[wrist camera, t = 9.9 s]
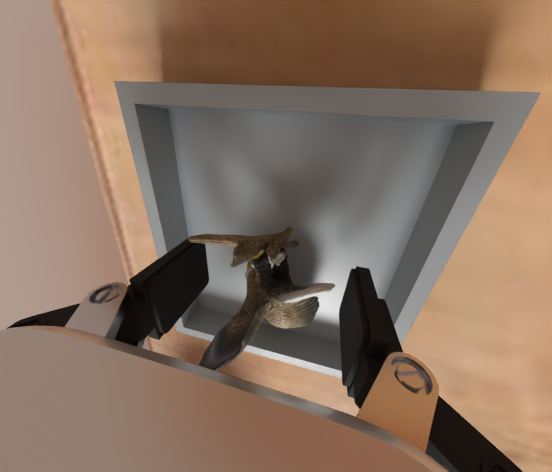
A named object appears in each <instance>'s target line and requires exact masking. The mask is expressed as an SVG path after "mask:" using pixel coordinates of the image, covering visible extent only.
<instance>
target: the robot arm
mask: <svg viewBox="0 0 552 472" xmlns="http://www.w3.org/2000/svg"><path fill="white" fill-rule="evenodd" d="M130 283H131V284H130V285H129V286H128V287H127V286H126V284H124V283H119V282H116V283H109V284H105V285H102V286H100V287H98V288H96V289H94V290H92V291H91V292H90V293H89V294H88V295H87V296H86V297H85V298H84V300H83V301H82V302H81V303H80V304H76V305H72V306H68V307H65V308H61V309H58V310H53V311H50V312H47V313H42V314H38V315H35V316H31V317H28V318H25V319H22V320H20V321H18V322H16V323H14V324H13V325H11V326H10V327H8V328H7V329H3V330H0V472H522V471H521V469H519V468H518V467H517V466H516V465H515V464H514V463H513V462H512V461H511V460H509V459H508V458H507V457H506V456H505V455H504V454H503V453H502V452H501V451H500V450H498V449H497V448H496V447H495V446H494V445H493V444H492V443H491V442H490V441H488V440H487V439H486V438H485V437H484V436H483V435H482V434H481V433H480V432H478V431H477V430H476V429H475V428H474V427H473V426H472V425H471V424H470V423H469V422H467V421H466V420H465V419H464V418H463V417H462V416H461V415H460V414H459V413H457V412H456V411H455V410H454V409H453V408H452V407H451V406H450V405H449V404H447V403H446V402H445V401H444V400H443V399H442V398H441V397H440V396H439V386H438V384H437V381H436V379H435V377H434V375H433V374H432V372H431V371H430V370H429V369H428V368H427V367H426V366H425V365H424V364H423V363H422V362H421V361H419V360H418V359H417V358H415V357H413V356H411V355H409V354H406V353H403V350H402V347H401V345H400V342H399V339H398V336H397V333H396V330H395V327H394V324H393V321H392V318H391V315H390V312H389V309H388V306H387V303H386V301H385V300H384V299H380V298H378V296H377V293H376V289H375V286H374V283H373V279H372V276H371V273H370V270H369V268H364V267H358V266H356V268H355V269H353V268H352V269H351V271H350V274H349V278H348V281H347V285H346V288H345V292H344V295H343V298H342V302H341V305H340V309H339V326H340V345H341V365H342V383H343V385H344V386H347V392H348V396H349V397H352V398H354V399H355V403H356V405H357V406H358V407H359V409H360V410H359V412H358V414H357V416H356V417H354V416H352V415H349V414H346V413H343V412H340V411H337V410H335V409H332V408H329V407H326V406H323V405H320V404H317V403H314V402H311V401H308V400H305V399H302V398H299V397H296V396H293V395H289V394H286V393H283V392H280V391H277V390H274V389H271V388H268V387H264V386H261V385H258V384H255V383H252V382H249V381H246V380H242V379H239V378H236V377H233V376H230V375H227V374H223V373H220V372H217V371H214V370H211V369H207V368H204V367H201V366H198V365H195V364H191V363H188V362H185V361H182V360H179V359H175V358H172V357H169V356H166V355H163V354H159V353H156V352H153V351H149V350H146V349H143V344H144V340H145V338H146V337H147V336H148V335H149V337H151V338H155V339H158V340H159V339H160V338H161V337H162V336H163V334H164V333H167V332H169V331H170V329H171V328H172V327H173V326H174V325H175V323H176V322H177V321H178V320H179V318H180V317H181V316H182V315H183V314H184V312H185V311H186V310H187V309H188V308H189V306H190V305H191V304H192V303H193V302H194V300H195V299H196V298H197V297H198V296H199V294H200V293H201V292H202V291H203V290H204V288H205V287H206V286H207V285H208V283H209V272H208V263H207V255H206V246H205V244H203V243H193V242H190V241H189V239H188V238H187V239H186V240H184V241H183V242H182V243H180V244H179V245H177V246H176V247H175V248H173V249H172V250H170V251H169V252H168V253H166V254H165V255H163V256H162V257H161V258H159V259H158V260H156V261H155V262H153V263H152V264H151V265H149V266H148V267H146V268H145V269H144V270H142V271H141V272H139V273H138V274H137V275H135V276H134V277H132V278H131V279H130Z"/></svg>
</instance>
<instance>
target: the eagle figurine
mask: <svg viewBox="0 0 552 472" xmlns="http://www.w3.org/2000/svg"><path fill="white" fill-rule="evenodd" d="M292 231H293V229H292V228H290V227H289V228H287V229H285V230H284V231H283V232H280V233H276V234H269V235H261V236H244V235H220V234H202V235H196V236H190V237H188V239H189V241H190V242H193V243H203V244H209V245H219V246H234V247H235V248H234V251H233V261H232V263H231V268H234V267H236V266H238V265H241V264H243V263H245V262H248V261H249V260H252V264H253V265H254V267H255V268H253V267H251V266H250V264H249V263H247V270H246V273H245V278H246V281H247V295H246V298H245V301H244V303H243V305H242V307H241V309H240V310H239V311H238V312H237V313H236V314H235V315H234V316H233V317H232V318H231V319H230V321H229V322H228V324H227V325H225V326H224V327H222V328H221V329H220V330H219V331H218V332H217V334H216V335H215V337H214V339H213V341H212V342H211V344H210V345H209V347H208V348H207V350H206V351H205V353H204V354H203V358H202V360H201V362H200V364H199V366H201V367H204V368H207V369H211V370H214V371H218V370H219V369H221V368H223V367H224V366H226V365H227V364H229V363H230V362H232V361H233V360H234V359H235V358H236V357H237V356H238V355H239V354H240V353H241V352H242V351H243V350H244V348H245V347H246V346H247V344H248V342H249V341H250V340H251V339H252V337H253V335H254V334H255V332H256V331H257V329H258V327H259V326H260V324H261V322H262V320H263V319H266V320H267V322H268V323H271V324H272V325H273V326H275V327H280V328H285V329H286V328H298V327H304V326H308V325H310V324H311V323H312V321H313V320H314V317H315V315H316V312H317V311H318V308H319V306H320V305H319V301H318V297H316V296H317V295H320V294H323V293H327V292H329V291H331V290H332V288H334V287H335V284H333V283H315V284H311V285H308V286H305V287H304V286H299V285H293V283H292V281H291V277H290V275H289V265H288V261H287V257H288V256H287V255H286V249H285V248H291V249H293V248H296V247H298V246H300V245H301V243H300V242H299V241H298V240H292V241H290V242H289V241H287V240H288V238H289V235H290V234H291V233H292ZM268 256H269V257H270V260H271V262H272V263H273V267H272V268H271V264H270V263H269V259H268Z"/></svg>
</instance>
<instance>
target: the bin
mask: <svg viewBox="0 0 552 472" xmlns="http://www.w3.org/2000/svg"><path fill="white" fill-rule="evenodd" d="M114 82H115V86H116V90H117V94H118V98H119V102H120V106H121V110H122V114H123V119H124V123H125V127H126V131H127V135H128V139H129V143H130V147H131V151H132V155H133V159H134V163H135V167H136V171H137V175H138V179H139V183H140V187H141V191H142V195H143V199H144V203H145V207H146V211H147V215H148V219H149V223H150V227H151V231H152V235H153V239H154V243H155V247H156V251H157V256H158V259H159V258H161V257H162V256H163V255H165V254H166V253H168V252H169V251H170V250H172V249H173V248H175V247H176V246H177V245H179V244H180V243H182V242H183V241H184V240H186V239H187V238H188V237H190V236H196V235H202V234H220V235H244V236H261V235H269V234H276V233H280V232H283V231H284V230H285V229H287V228H289V227H290V228H292V229H293V231H292V233H291V234H290V235H289V238H288V240H287V241H289V242H290V241H292V240H298V241H299V242H300V243H301V245H300V246H298V247H296V248H293V249H291V248H285V249H286V255H287V256H288V257H287V261H288V265H289V275H290V277H291V281H292V283H293V285H299V286H304V287H305V286H308V285H311V284H315V283H333V284H335V287H334V288H332V290H331V291H329V292H327V293H323V294H320V295H317V296H316V297H318V301H319V305H320V306H319V308H318V311H317V312H316V315H315V317H314V320H313V321H312V323H311V324H310V325H308V326H304V327H298V328H286V329H285V328H280V327H275V326H273V325H272V324H271V323H268V322H267V320H266V319H263V320H262V322H261V324H260V326H259V327H258V329H257V331H256V332H255V334H254V335H253V337H252V339H251V340H250V341H249V342H248V344H247V346H246V347H245V348H244V350H243V351H247V352H251V353H254V354H258V355H261V356H265V357H268V358H272V359H275V360H279V361H282V362H286V363H289V364H293V365H297V366H300V367H304V368H307V369H311V370H314V371H318V372H321V373H325V374H328V375H332V376H335V377H339V378H342V365H341V345H340V326H339V309H340V305H341V302H342V298H343V295H344V292H345V288H346V285H347V281H348V278H349V274H350V271H351V269H352V268H353V269H355V268H356V266H358V267H364V268H369V270H370V273H371V276H372V279H373V283H374V286H375V289H376V293H377V296H378V298H380V299H384V300H385V301H386V303H387V306H388V309H389V312H390V315H391V318H392V321H393V324H394V327H395V330H396V333H397V336H398V339H399V342H400V345H402V343H403V341H404V339H405V338H406V336H407V334H408V332H409V330H410V329H411V327H412V325H413V323H414V321H415V320H416V318H417V316H418V314H419V312H420V310H421V309H422V307H423V305H424V303H425V301H426V300H427V298H428V296H429V294H430V292H431V291H432V289H433V287H434V285H435V283H436V281H437V280H438V278H439V276H440V274H441V272H442V271H443V269H444V267H445V265H446V263H447V262H448V260H449V258H450V256H451V254H452V253H453V251H454V249H455V247H456V245H457V243H458V242H459V240H460V238H461V236H462V234H463V233H464V231H465V229H466V227H467V225H468V224H469V222H470V220H471V218H472V216H473V214H474V213H475V211H476V209H477V207H478V205H479V204H480V202H481V200H482V198H483V196H484V195H485V193H486V191H487V189H488V187H489V186H490V184H491V182H492V180H493V178H494V176H495V175H496V173H497V171H498V169H499V167H500V166H501V164H502V162H503V160H504V158H505V157H506V155H507V153H508V151H509V149H510V147H511V146H512V144H513V142H514V140H515V138H516V137H517V135H518V133H519V131H520V129H521V128H522V126H523V124H524V122H525V120H526V118H527V117H528V115H529V113H530V111H531V109H532V108H533V106H534V104H535V102H536V100H537V99H538V97H539V95H540V93H538V92H500V91H463V90H426V89H389V88H352V87H314V86H277V85H240V84H203V83H166V82H129V81H114ZM205 246H206V255H207V263H208V272H209V283H208V285H207V286H206V287H205V288H204V290H203V291H202V292H201V293H200V294H199V296H198V297H197V298H196V299H195V300H194V302H193V303H192V304H191V305H190V306H189V308H188V309H187V310H186V311H185V312H184V314H183V315H182V316H181V317H180V318H179V320H178V321H177V322H176V323H175V328H176V332H180V333H183V334H187V335H190V336H194V337H198V338H201V339H205V340H208V341H213V339H214V337H215V335H216V334H217V332H218V331H219V330H220V329H221V328H222V327H224V326H225V325H227V324H228V322H229V321H230V319H231V318H232V317H233V316H234V315H235V314H236V313H237V312H238V311H239V310H240V309H241V307H242V305H243V303H244V301H245V298H246V295H247V281H246V278H245V273H246V270H247V263H249V264H250V266H251V267H253V268H255V267H254V265H253V264H252V260H249V261H248V262H245V263H243V264H241V265H238V266H236V267H234V268H231V263H232V261H233V251H234V248H235V247H234V246H219V245H209V244H205ZM268 259H269V263H270V264H271V268H272V267H273V263H272V262H271V260H270V257H269V256H268Z"/></svg>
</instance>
